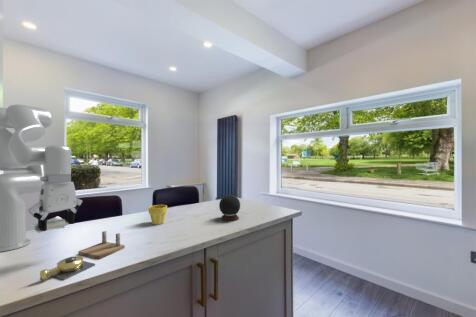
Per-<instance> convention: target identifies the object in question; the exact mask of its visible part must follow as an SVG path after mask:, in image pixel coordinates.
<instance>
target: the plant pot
mask: <svg viewBox="0 0 476 317" xmlns="http://www.w3.org/2000/svg"><path fill="white" fill-rule="evenodd" d="M167 212H168V205H166V204H156V205H155V204H154V205H150V206H148V214H149V216H150V220H151V223H152V225H154V226H155V225H157V226H158V225H163V224H164V223H165V221H166V214H167Z"/></svg>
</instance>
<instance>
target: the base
mask: <svg viewBox="0 0 476 317" xmlns="http://www.w3.org/2000/svg"><path fill="white" fill-rule="evenodd" d="M95 266H96V263H93V262H90V261H84V260H83V266H82V267H80V268H79V269H77V270H74V271H70V272H65V273H60V272H59V273H57V274H54V275H52V276H51V277H52V278H56V279H58V280H62V281H65V280H67V279H70V278H71V277H73V276H77V275H78V274H80V273H82V272H84V271H86V270H88V269H90V268H92V267H95Z"/></svg>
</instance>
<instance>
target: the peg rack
mask: <svg viewBox="0 0 476 317" xmlns="http://www.w3.org/2000/svg"><path fill="white" fill-rule="evenodd" d="M101 235H102V236H101V242H100V243H96V244H94V245H91V246H89V247H85V248H83V249H81V250H79V251H78V252H77V253H78V254H77V255H78V256H82V257H90V258H92V259H93V258H94V259H97V260H101V259H103V258H106V257H108V256H110V255H112V254H115V253H117V252H118V251H121V250H123V249H125V246H126V245H125V244H122V243H121V233H115V243H114V242H109V241H107V231H106V230H104V231H102V232H101Z"/></svg>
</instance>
